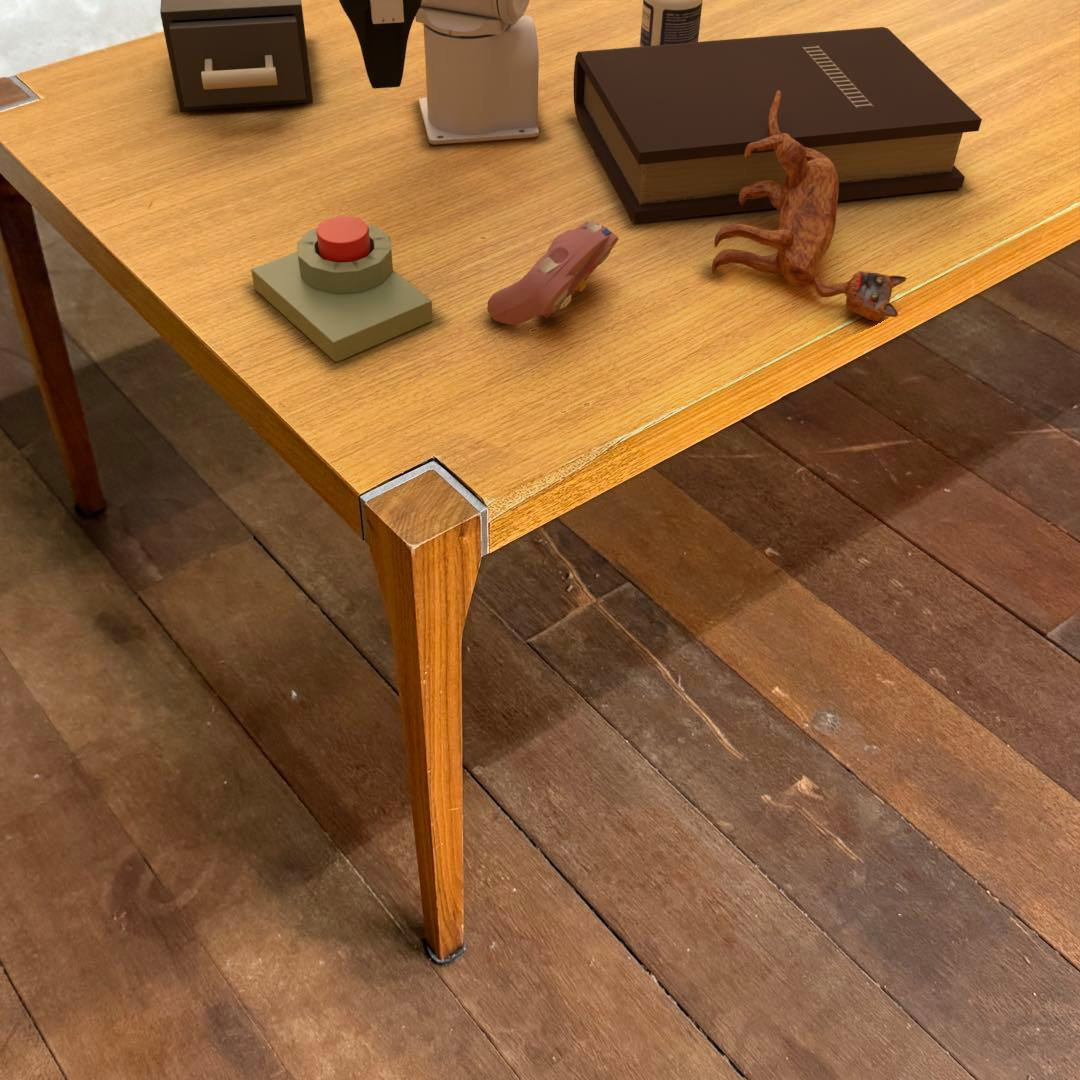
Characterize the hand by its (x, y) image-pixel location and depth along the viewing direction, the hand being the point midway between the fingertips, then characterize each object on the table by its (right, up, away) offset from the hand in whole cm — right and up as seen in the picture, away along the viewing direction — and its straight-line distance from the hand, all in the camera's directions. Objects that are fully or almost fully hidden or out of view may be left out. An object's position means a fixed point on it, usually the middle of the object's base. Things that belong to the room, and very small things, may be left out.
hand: (385, 83), depth 88 cm
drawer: (-15, +8, +20) cm, 26 cm away
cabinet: (-16, +10, +24) cm, 30 cm away
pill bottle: (+23, +11, +27) cm, 37 cm away
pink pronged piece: (+12, -16, -1) cm, 20 cm away
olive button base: (-3, -16, -2) cm, 17 cm away
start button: (-3, -13, -2) cm, 13 cm away
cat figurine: (+26, -6, +3) cm, 26 cm away
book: (+30, 0, +16) cm, 34 cm away
